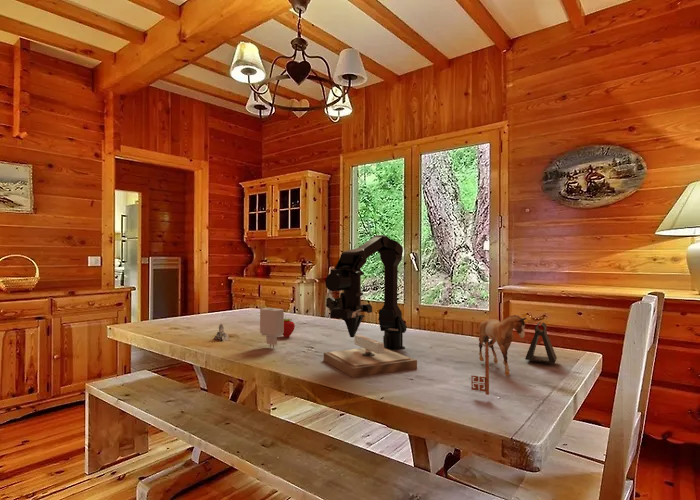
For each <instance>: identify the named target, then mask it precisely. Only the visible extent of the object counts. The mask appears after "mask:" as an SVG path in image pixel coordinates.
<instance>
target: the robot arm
mask: <svg viewBox="0 0 700 500" xmlns="http://www.w3.org/2000/svg"><path fill="white" fill-rule="evenodd" d="M375 253H378V254H379V259H380V261H381V263H382V264H383V268H384V271H383V272H384V278H383V279H384V285H383V288H384V290H383V291H384V292H383V294H384V295H383V296H384V297H383V306H382V308H380V309H379V310H378V323H379V328H380V332H383V334H384V335H383V338H382V341H383V342H382V343H384V348H387V349H389V350H392V351H394V350H401V349H406V346H403V345H404V344H403V343H404V341H403V340H404V338H403V337H404V336H403V334H405V333H406V332H407V327H408V326H407V324H406V322H405V321H404V319H403V314H402V310H401V309H400V307H399V304H398V273H399V272H398V267H399V265H400V263H401V261H402V260H403V253H404V248H403V246H402V245H401V243H400V242H398V241H396V240H394V239H392V238H390V237H388V236H387V235H385V234H378V235H377V234H376V235H374V236H372V238H371V239H368V240H367V241H365V242H364V243H363V244H361V245H360V246H358V247H357V248H351V249H347V250H344V251H342V252H341V253H340V257H339V259H338V261H337V263H336V265H335V267H334V269H330V273H329V274H327V276H326V279H325V286H326V288H327V289H328V290H329V291H330V292H340V291H343V292H340V293H339V297H338V298H334V297H333V296H329V297H327V298H326V301H325V307H326V308H328V309H329V318H330V319H341V320H343V321H344V323H345V325H346V328H347V332H348V335H349V337H350V338H354V336H355V335H357V334H356V333H357V331H358V329H359V327H360V325H361V323H362V321H363V319H364V317H365V314H362V312H363V313H364V312H365V313H367V314H370V313H373V306H372V305H371V303H362V301H361V300H362V298H361V297H362V296H364V292H363V291H361V289H362V284H361V283H362V281H361V279H362V277H361V276H364V275H365V273H364V271H363V270H362V267H364V265H366V263H367V259H368V258H369V257H371V256H372V255H374V254H375Z"/></svg>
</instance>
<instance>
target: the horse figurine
mask: <svg viewBox="0 0 700 500" xmlns="http://www.w3.org/2000/svg"><path fill="white" fill-rule="evenodd" d="M526 319H528V318H527V317H524V318H523V317H521V316H520V315H516V314H512V315H509V316H506V318H504V319H502V320H501V321H500V320H499V319H496V318H487V319H484V320H482V321H481V322H480V323H479V328H478V331H479V332H478V333H479V337H480V336H481V335H483V334H490V335H492V336H493V337H494V338H495V343H497V346H498V347H499V350H500V352H501V354H502V357H503V362H502V363H503V365H504V374H505V375H506V376H510V366H509V363H508V350H509V348H510V346H511V343H512V342H513V340H514V333H513V330H515V331H516V333H517V334H518V336H519V338H520V339H523V338H524V337H525V336H526V332H525V327H526V322H525V320H526ZM480 340H481V342H482V343H483V344H486V342H488V345H491V344H493V338H492V337H491V336H489V335H484V336H482V337H481V339H480ZM489 340H490V341H489ZM483 346H484V345H482V344H481V343H480V342H479V343H478V347H479V353H478V355H479V358H478V359H479V361H480V362H485V358H484V356H483V353H482V350H483V349H482V348H483ZM488 348H489V349H490V350H491V351H492V355H493V357H494V358H493V362H494V364H498V357H497V353H496V350H495V348H494V344H493V345H492V346H488Z"/></svg>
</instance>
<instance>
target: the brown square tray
mask: <svg viewBox="0 0 700 500" xmlns="http://www.w3.org/2000/svg"><path fill="white" fill-rule="evenodd" d="M323 361H324V362H325V363H327V364H329V365H331V366H332V367H333V368H336V369H338V370H340V371H341V372H343V373H344V374H346V375H348V376H350V377H351V378H352V379H353V378H359V377H360V378H361V377H366V376H373V375H374V376H375V375H380V374H381V375H382V374H387V373H393V372H394V373H395V372H401V371H406V370H415V369H418V360H417V359H415V358H413V357H410V356H407V355H405V354H402V353H400V352H397V351H394V350H389V349H387V348H384V353H383V354H377V353H375V352H372V354H365V348H363V347H360V348H354V349H344V350H335V351H329V352H326V351H325V352H323Z"/></svg>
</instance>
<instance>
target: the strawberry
mask: <svg viewBox="0 0 700 500" xmlns="http://www.w3.org/2000/svg"><path fill="white" fill-rule="evenodd" d="M292 320H293V319H291V318H284V333H283V335H282V336H283V337H284V338H290V337H291V335H292V334H293V332H294V330H295V327H296V325H295V323H294V322H293V321H292Z"/></svg>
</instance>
